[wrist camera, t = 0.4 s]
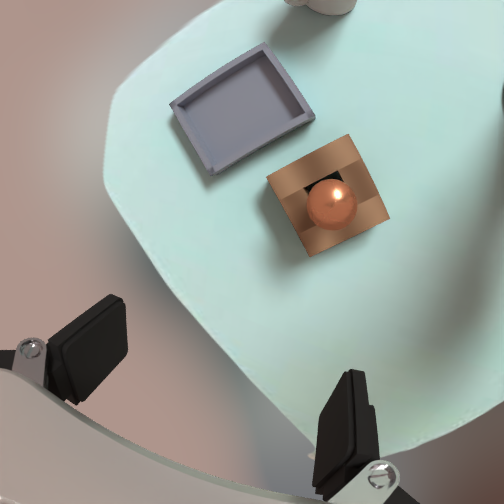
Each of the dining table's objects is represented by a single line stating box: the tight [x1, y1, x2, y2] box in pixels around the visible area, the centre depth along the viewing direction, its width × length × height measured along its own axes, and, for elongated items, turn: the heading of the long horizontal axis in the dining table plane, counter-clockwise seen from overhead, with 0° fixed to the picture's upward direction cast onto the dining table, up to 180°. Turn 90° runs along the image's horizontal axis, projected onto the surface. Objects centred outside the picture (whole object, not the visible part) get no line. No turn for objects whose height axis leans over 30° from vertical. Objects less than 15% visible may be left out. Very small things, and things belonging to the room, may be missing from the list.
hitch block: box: [266, 134, 390, 257], centre depth 31 cm, size 10×10×4 cm
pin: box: [307, 179, 357, 230], centre depth 28 cm, size 4×4×10 cm
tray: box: [169, 42, 316, 176], centre depth 31 cm, size 14×11×2 cm
